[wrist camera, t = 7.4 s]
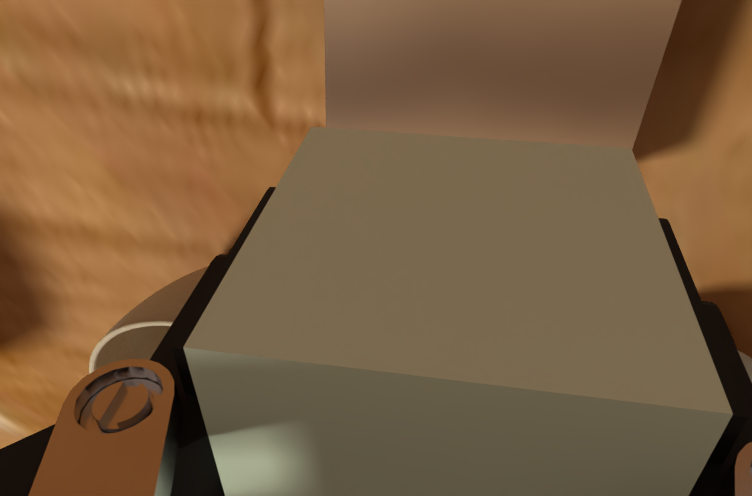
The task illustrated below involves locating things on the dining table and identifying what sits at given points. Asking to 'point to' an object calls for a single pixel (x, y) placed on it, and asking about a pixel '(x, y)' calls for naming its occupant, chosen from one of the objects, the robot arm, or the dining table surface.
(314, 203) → the sage cube
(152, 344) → the flower pot
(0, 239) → the dining table surface
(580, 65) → the brown flat block
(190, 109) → the dining table surface
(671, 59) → the dining table surface
